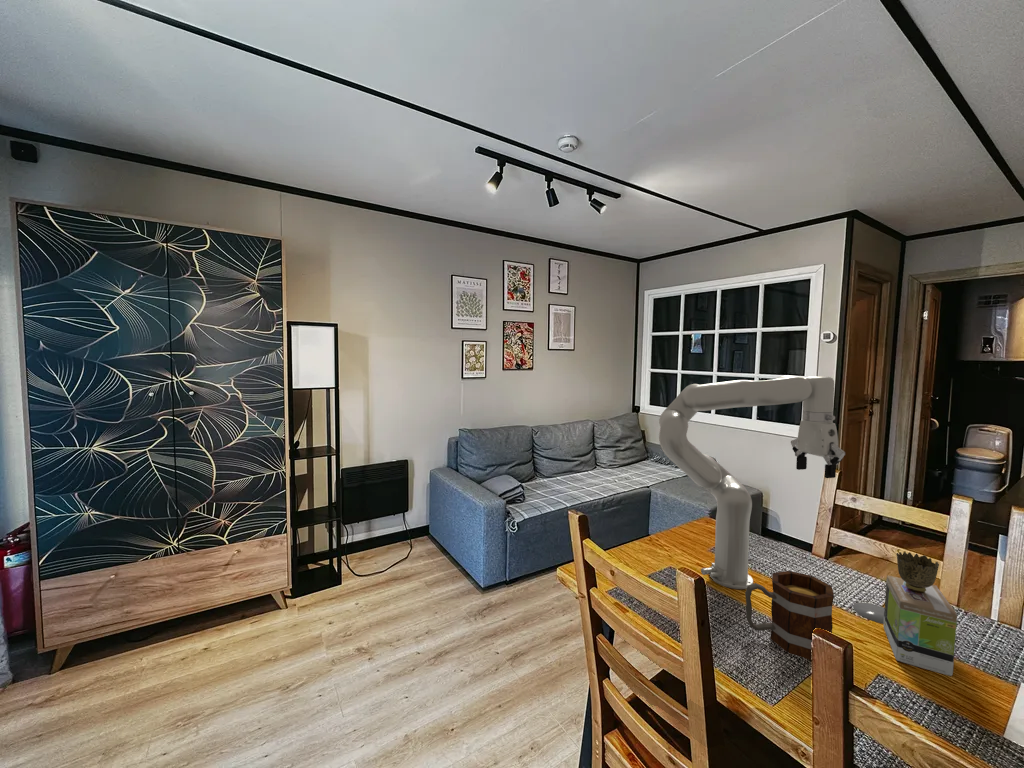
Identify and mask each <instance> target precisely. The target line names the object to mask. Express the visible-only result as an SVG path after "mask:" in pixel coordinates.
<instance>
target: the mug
mask: <svg viewBox="0 0 1024 768" xmlns="http://www.w3.org/2000/svg"><path fill="white" fill-rule="evenodd" d="M771 575H772V576H771V577H772V578H771V579H772V580H771V582H772V583H771V584H772V585H771V586H772V591H768V590H767V589H766V588H765V587H764V585H762V584H758V583H756V582H755V583H754V582H753V584H751V585H748V587H747V589H745V592H744V593H745V594H744V595H745V615H746V617H745V618H746V621H747V623H748V625H749V626H750V627H749V628H751V629H753V630H755V631H757V632H760V631H770V634H769V635H770V640H771V641H772V642H774V643H775V644H776V645H777V646H778V647H780V648H781V649H782V650H783V651H784V652H786V653H787V654H790V655H793V656H796V657H800V658H803V659H806V660H810V661H812V660H811V642H812V633H813V630H814V629H815V628H821V629H824V630H827V631H829V632H831V633H832V632H833V605H834V599H835V595H834V590H833V586H832V585H829V583H826V582H825V581H823V580H820V579H819V578H817V577H815V576H813V575H811V574H804V573H801V572H796V571H791V570H785V571H778V572H777V571H776V572H772V574H771ZM755 590H760V591H761V592H762V593H763V594H764V595H765V596H767V597H768V598H770V599H771V608H770V611H771V622H765V623H763V622H762V623H758V624H756V623H754V622H753V620H752V618H753V616H752V615H753V613H752V612H753V611H752V610H753V604H752V600H751V597H752V593H753V591H755Z"/></svg>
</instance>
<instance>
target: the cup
mask: <svg viewBox="0 0 1024 768" xmlns="http://www.w3.org/2000/svg"><path fill="white" fill-rule="evenodd" d="M896 560H897V562H896V563H897V570H898V574H899V578H902V579H903V580H904V581H905V582H906V584H905V585H906V587H907V589H909V590H910V591H913V592H916V593H925V592H926V588H927V587H930V586H932V585H935V582H936V579H937V576H938V570H939V566H940V563H939V562H938V561H935V562H933V560H932V558H931V557H930V558H928V556H927V555H920V556H919V554H918V553H915V554H914V555H913V554H912V553H911V552H908V553H907V552H906V551H904V552H903V553H902V552H899V553H897V552H896Z"/></svg>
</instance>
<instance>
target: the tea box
mask: <svg viewBox="0 0 1024 768" xmlns="http://www.w3.org/2000/svg"><path fill="white" fill-rule="evenodd" d="M905 584H906V582H905V581H904V580H903V579H902V578H901V577H897V576H893V575H888V574H887V575H886V581H885V595H884V596H885V597H884V608H885V610H884V624H883V629H884V633H885V635H886V637H887V639H888V643H889V644H890V645H889V646H890V648H891V650H892V653H893V656H894V658H895V660H896V661H898V662H901V663H904V664H907V665H910V666H914V667H917V668H921V669H924V670H928V671H931V672H934V673H939V674H943V675H945V676H950V677H952V676H953V673H954V661H955V659H954V658H955V650H956V648H955V647H956V639H957V638H956V635H957V625H958V613H957V612H956V611H955V608H953V606H952V605H951V604H950V602H949V601H948V600H947V598H946V597H945V595H944V594H943V593H942V591H941V590H940V589H939V587H938V585H935V584H933V585H932V586H930V587H927V588H926V592H925V593H916V592H913V591H910V590H909V589H907V587H906V585H905Z"/></svg>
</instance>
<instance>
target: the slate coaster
mask: <svg viewBox="0 0 1024 768" xmlns="http://www.w3.org/2000/svg"><path fill="white" fill-rule="evenodd" d="M852 609H853V610H854V612H856V613H857V614H858V615H860V616H861V617H862V618H865V619H867V620H869V621H871V622H874V621H875V623H878V624H883V625H884V610H885V606H884V607H883V606H880V605H877V604H875V603H869V602H856V603H853V605H852Z"/></svg>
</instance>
